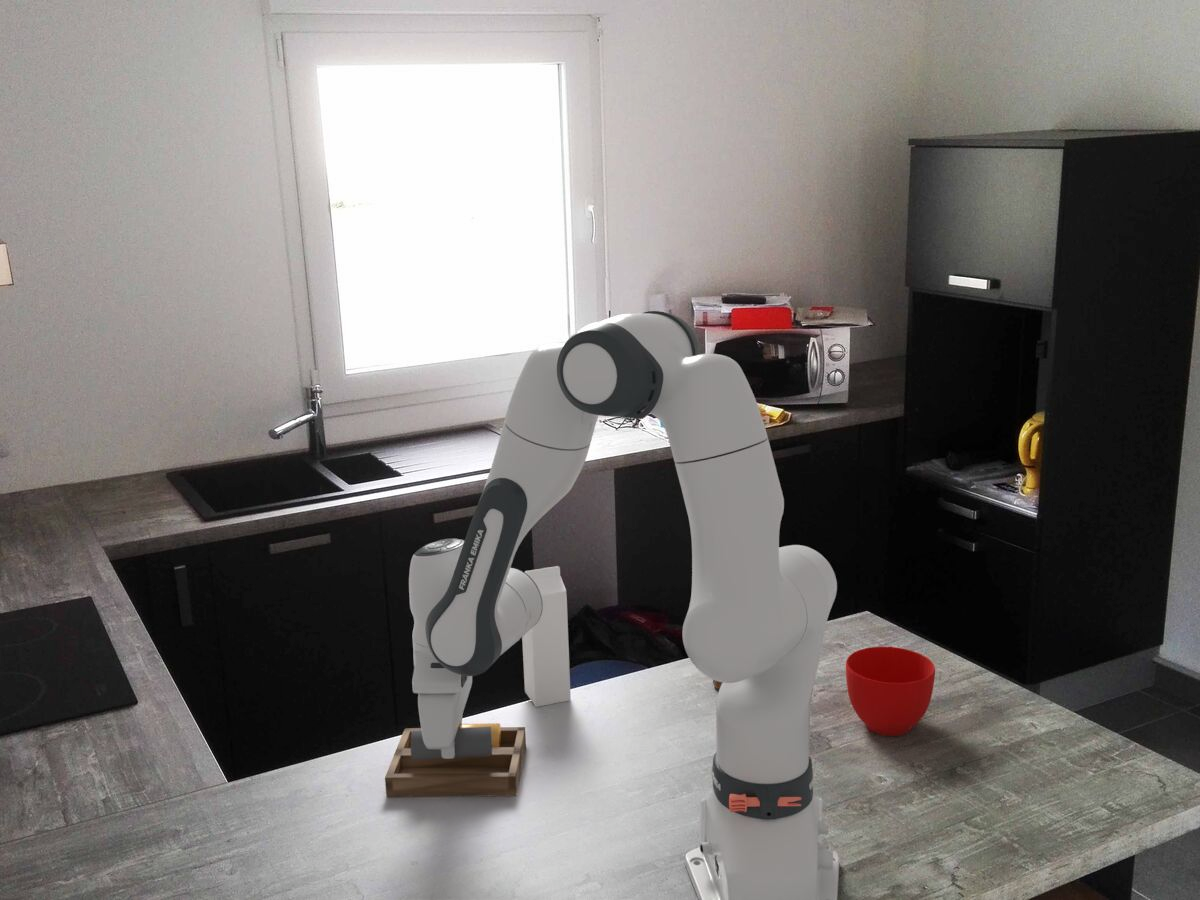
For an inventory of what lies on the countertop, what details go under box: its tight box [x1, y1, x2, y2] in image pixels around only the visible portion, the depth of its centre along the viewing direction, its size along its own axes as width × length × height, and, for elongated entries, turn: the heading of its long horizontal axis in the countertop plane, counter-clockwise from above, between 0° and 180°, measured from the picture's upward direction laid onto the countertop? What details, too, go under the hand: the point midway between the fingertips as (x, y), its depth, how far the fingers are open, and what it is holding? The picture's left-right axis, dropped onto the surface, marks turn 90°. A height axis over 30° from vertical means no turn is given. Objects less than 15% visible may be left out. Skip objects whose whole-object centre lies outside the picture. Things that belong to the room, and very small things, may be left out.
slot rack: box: [384, 726, 527, 798], centre depth 167 cm, size 14×18×3 cm
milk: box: [521, 565, 572, 708], centre depth 186 cm, size 6×6×22 cm
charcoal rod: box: [411, 727, 492, 761], centre depth 162 cm, size 11×4×4 cm, turn 94°
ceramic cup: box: [845, 645, 936, 737], centre depth 177 cm, size 13×17×10 cm
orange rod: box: [462, 722, 501, 747], centre depth 170 cm, size 11×4×4 cm, turn 88°
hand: (452, 745), depth 162 cm, fingers closed on charcoal rod, 4 cm apart
